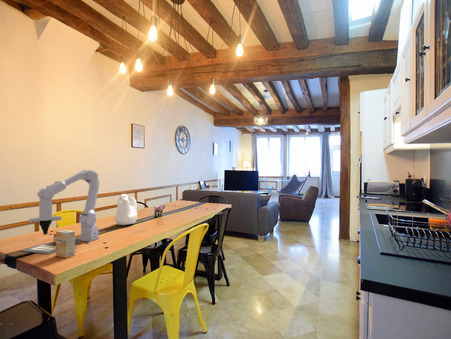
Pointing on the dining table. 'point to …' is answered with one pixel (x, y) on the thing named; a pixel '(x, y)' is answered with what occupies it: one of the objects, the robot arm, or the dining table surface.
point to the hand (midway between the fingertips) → (45, 234)
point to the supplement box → (65, 243)
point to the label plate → (41, 249)
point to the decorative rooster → (126, 210)
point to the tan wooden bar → (75, 240)
